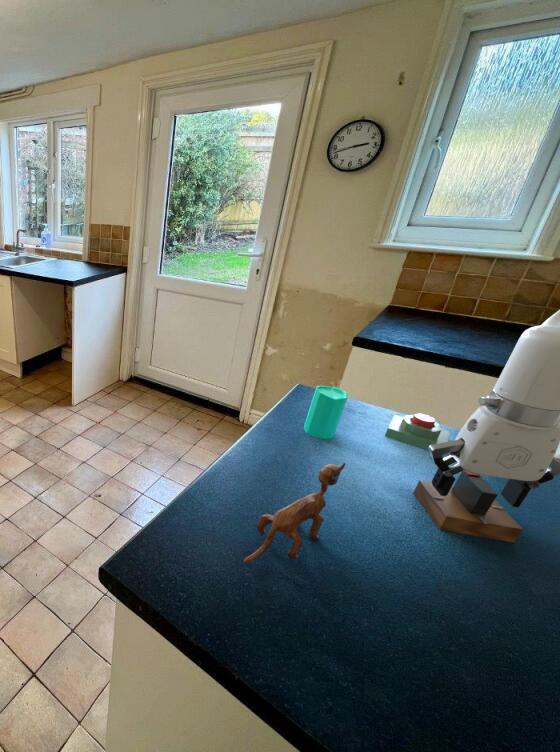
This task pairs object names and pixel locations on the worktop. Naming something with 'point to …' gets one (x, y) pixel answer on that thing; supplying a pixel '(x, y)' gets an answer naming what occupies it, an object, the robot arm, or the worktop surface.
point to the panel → (466, 515)
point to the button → (423, 420)
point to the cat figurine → (298, 515)
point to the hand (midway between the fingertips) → (473, 495)
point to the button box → (416, 432)
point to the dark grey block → (474, 493)
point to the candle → (325, 411)
